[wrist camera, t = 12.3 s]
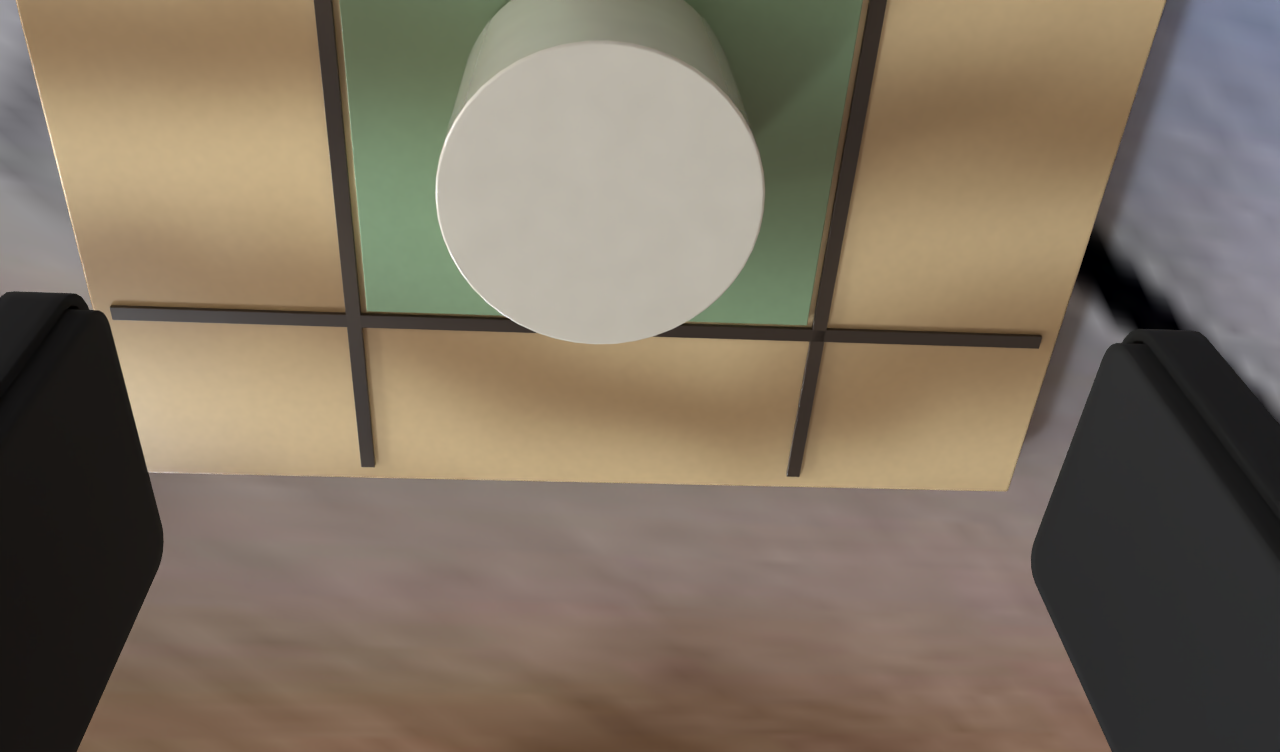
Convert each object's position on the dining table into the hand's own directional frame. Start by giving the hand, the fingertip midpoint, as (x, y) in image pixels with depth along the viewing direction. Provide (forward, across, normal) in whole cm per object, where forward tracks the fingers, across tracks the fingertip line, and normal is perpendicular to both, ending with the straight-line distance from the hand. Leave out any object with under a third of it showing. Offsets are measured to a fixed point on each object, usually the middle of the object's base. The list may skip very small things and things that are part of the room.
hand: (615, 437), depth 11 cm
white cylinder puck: (+11, 0, +1) cm, 11 cm away
